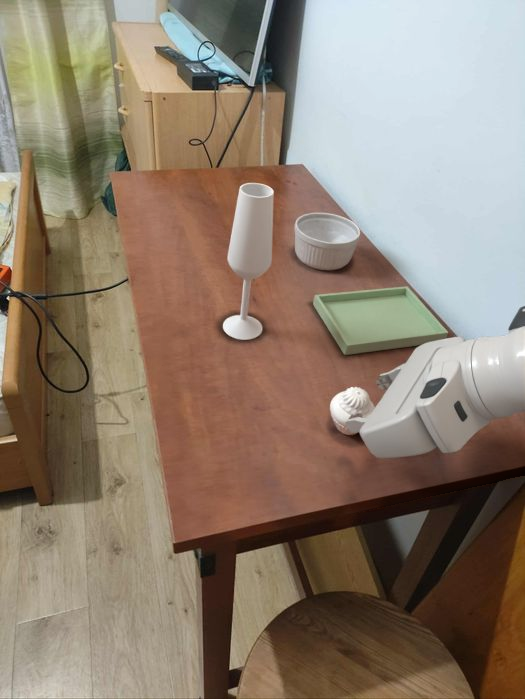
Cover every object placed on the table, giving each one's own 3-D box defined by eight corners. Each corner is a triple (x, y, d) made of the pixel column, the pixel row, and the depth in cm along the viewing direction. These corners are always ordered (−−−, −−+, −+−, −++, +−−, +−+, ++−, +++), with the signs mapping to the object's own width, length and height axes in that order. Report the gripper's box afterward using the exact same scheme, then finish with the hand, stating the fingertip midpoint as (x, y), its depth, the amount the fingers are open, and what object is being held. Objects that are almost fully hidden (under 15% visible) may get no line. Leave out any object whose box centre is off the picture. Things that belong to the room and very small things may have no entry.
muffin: (320, 411, 73) (329, 375, 68) (360, 408, 74) (372, 373, 69) (332, 445, 68) (343, 410, 64) (375, 442, 69) (388, 407, 65)
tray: (404, 295, 98) (407, 286, 97) (444, 341, 88) (448, 332, 87) (312, 304, 93) (314, 294, 91) (344, 355, 83) (347, 345, 81)
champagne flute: (264, 317, 88) (282, 183, 72) (260, 342, 83) (279, 203, 67) (225, 312, 88) (235, 177, 72) (219, 336, 83) (229, 196, 67)
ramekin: (277, 250, 106) (281, 219, 102) (322, 236, 113) (328, 206, 109) (321, 281, 99) (327, 249, 94) (366, 263, 106) (374, 233, 101)
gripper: (478, 315, 63) (384, 343, 73) (423, 412, 49) (317, 429, 59) (499, 358, 64) (404, 379, 74) (451, 463, 50) (343, 472, 60)
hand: (365, 402), depth 66 cm, fingers open, 8 cm apart
